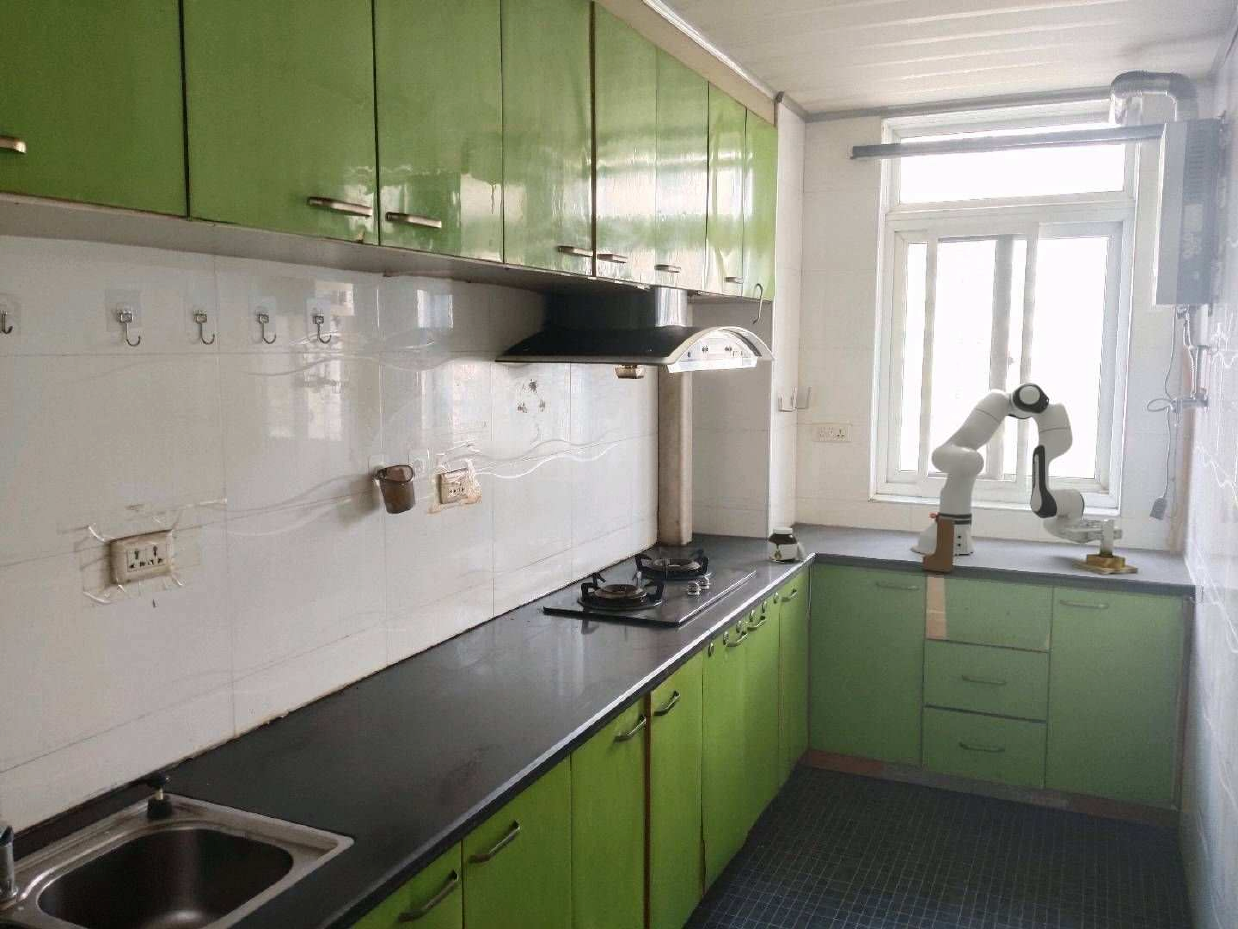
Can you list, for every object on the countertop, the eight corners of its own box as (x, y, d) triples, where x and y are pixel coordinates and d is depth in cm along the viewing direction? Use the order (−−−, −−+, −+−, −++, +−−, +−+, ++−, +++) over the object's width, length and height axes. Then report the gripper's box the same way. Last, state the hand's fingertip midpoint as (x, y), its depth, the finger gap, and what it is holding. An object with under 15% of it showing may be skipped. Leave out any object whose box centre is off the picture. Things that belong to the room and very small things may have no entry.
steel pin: (1104, 562, 334) (1107, 521, 333) (1096, 559, 338) (1098, 519, 337) (1114, 561, 335) (1117, 520, 334) (1106, 559, 339) (1108, 518, 338)
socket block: (1101, 574, 328) (1102, 561, 328) (1073, 566, 342) (1073, 553, 342) (1137, 572, 332) (1138, 559, 331) (1108, 564, 345) (1108, 551, 345)
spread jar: (763, 560, 351) (764, 527, 350) (785, 556, 358) (785, 524, 357) (790, 566, 342) (790, 532, 341) (811, 561, 349) (812, 528, 348)
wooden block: (921, 569, 336) (923, 516, 334) (926, 567, 340) (928, 515, 338) (948, 573, 331) (950, 519, 329) (953, 570, 334) (955, 517, 332)
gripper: (1055, 522, 346) (1082, 529, 332) (1105, 520, 350) (1134, 527, 337) (1054, 540, 346) (1081, 548, 333) (1104, 538, 351) (1133, 545, 338)
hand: (1108, 537), depth 335 cm, fingers closed on steel pin, 4 cm apart
